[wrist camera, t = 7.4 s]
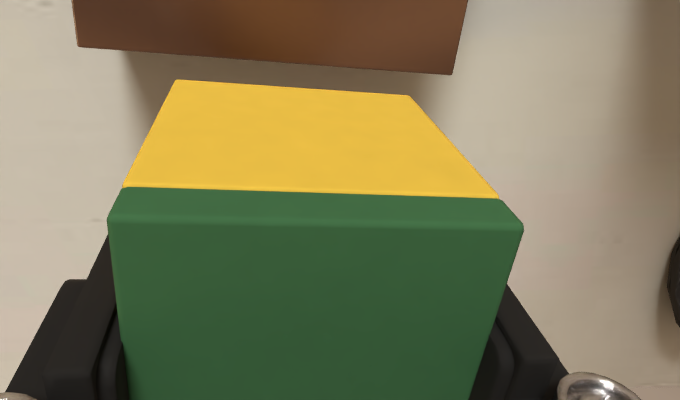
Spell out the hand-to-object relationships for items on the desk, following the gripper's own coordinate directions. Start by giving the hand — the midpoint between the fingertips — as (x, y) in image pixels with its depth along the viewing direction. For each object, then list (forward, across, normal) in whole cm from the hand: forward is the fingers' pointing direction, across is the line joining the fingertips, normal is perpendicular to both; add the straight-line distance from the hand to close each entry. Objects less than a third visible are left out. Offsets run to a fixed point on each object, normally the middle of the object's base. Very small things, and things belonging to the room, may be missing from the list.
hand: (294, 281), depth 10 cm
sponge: (+2, 0, 0) cm, 2 cm away
